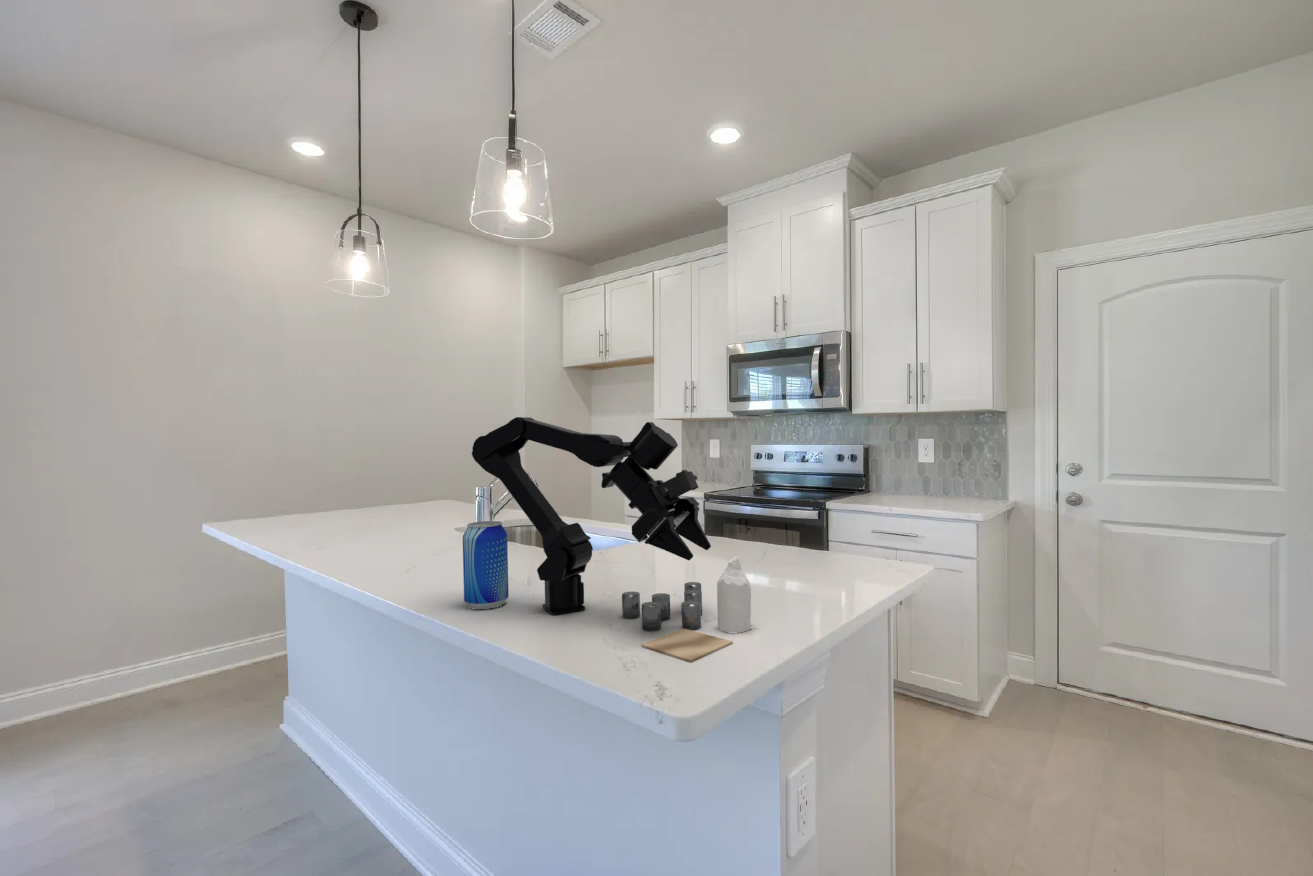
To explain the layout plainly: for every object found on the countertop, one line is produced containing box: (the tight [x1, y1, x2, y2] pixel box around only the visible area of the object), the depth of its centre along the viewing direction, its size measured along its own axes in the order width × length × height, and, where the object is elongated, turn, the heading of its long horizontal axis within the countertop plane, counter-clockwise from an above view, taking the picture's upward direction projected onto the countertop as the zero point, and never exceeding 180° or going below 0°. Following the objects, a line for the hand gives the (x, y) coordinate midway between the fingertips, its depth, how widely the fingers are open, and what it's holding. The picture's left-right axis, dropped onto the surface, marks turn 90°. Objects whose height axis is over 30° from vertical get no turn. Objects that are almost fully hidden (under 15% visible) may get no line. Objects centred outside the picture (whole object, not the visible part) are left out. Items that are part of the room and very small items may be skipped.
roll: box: [716, 556, 752, 634], centre depth 99 cm, size 6×12×6 cm
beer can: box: [462, 520, 509, 610], centre depth 116 cm, size 8×8×16 cm
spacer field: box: [621, 581, 703, 632], centre depth 105 cm, size 16×14×4 cm
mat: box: [640, 628, 734, 663], centre depth 91 cm, size 10×10×1 cm
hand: (700, 553), depth 101 cm, fingers open, 9 cm apart
